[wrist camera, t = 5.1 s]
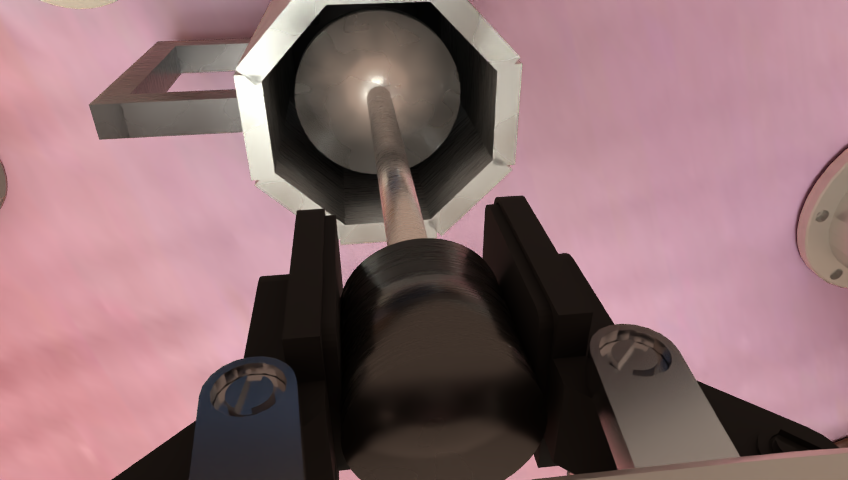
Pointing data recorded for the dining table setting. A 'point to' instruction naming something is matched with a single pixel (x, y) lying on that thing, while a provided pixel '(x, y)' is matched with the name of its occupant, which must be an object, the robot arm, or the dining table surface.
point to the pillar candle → (79, 3)
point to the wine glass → (2, 184)
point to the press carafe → (283, 133)
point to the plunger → (414, 271)
